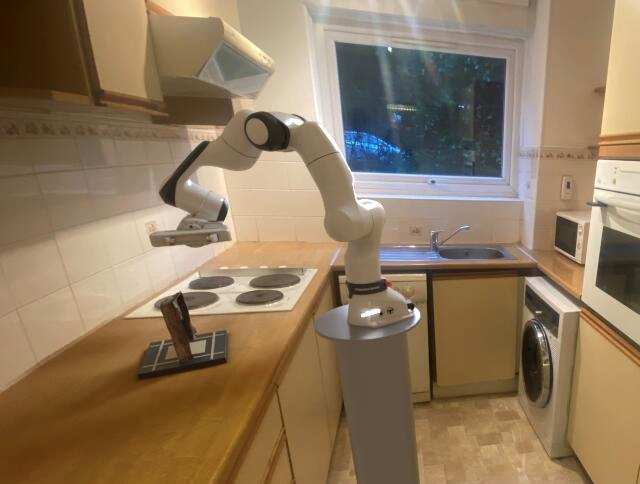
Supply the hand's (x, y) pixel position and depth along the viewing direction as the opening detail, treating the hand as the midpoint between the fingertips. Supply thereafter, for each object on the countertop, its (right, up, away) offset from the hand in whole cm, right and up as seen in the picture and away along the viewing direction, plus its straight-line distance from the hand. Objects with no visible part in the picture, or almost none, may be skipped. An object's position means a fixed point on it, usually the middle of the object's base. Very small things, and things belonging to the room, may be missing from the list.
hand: (190, 241), depth 126 cm
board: (+7, -32, -10) cm, 34 cm away
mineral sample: (+7, -31, -10) cm, 33 cm away
